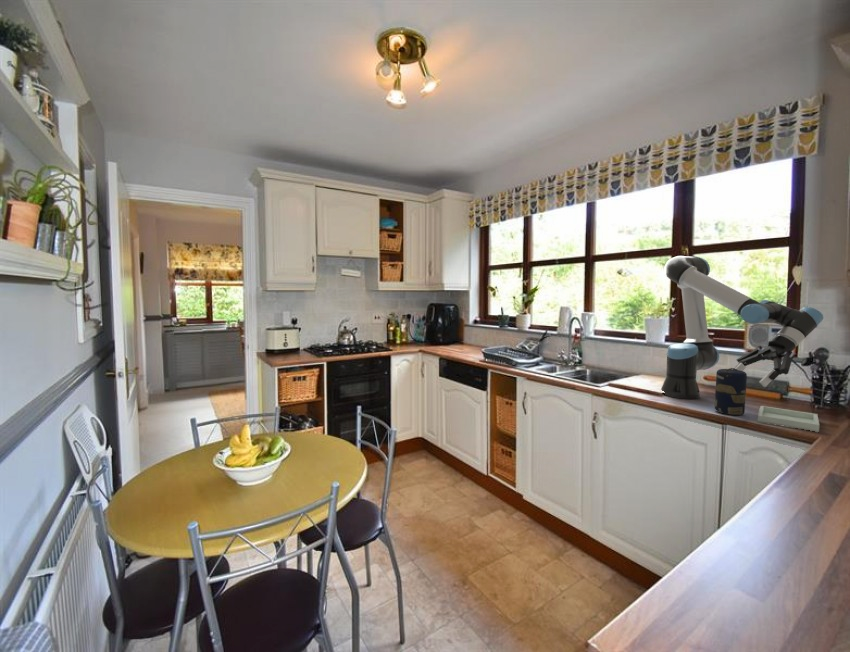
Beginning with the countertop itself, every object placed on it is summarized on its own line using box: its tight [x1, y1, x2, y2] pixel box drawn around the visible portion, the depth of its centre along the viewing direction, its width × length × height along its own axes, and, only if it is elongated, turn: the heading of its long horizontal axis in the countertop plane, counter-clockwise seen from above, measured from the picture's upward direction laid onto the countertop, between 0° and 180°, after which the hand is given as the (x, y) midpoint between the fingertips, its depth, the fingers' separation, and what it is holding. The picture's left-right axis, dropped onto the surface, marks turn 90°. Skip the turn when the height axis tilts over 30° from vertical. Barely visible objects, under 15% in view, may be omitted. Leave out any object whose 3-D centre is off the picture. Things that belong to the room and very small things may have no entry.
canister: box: [714, 367, 748, 416], centre depth 155 cm, size 10×10×18 cm
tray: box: [757, 405, 820, 433], centre depth 146 cm, size 16×16×3 cm
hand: (746, 380), depth 154 cm, fingers open, 13 cm apart
